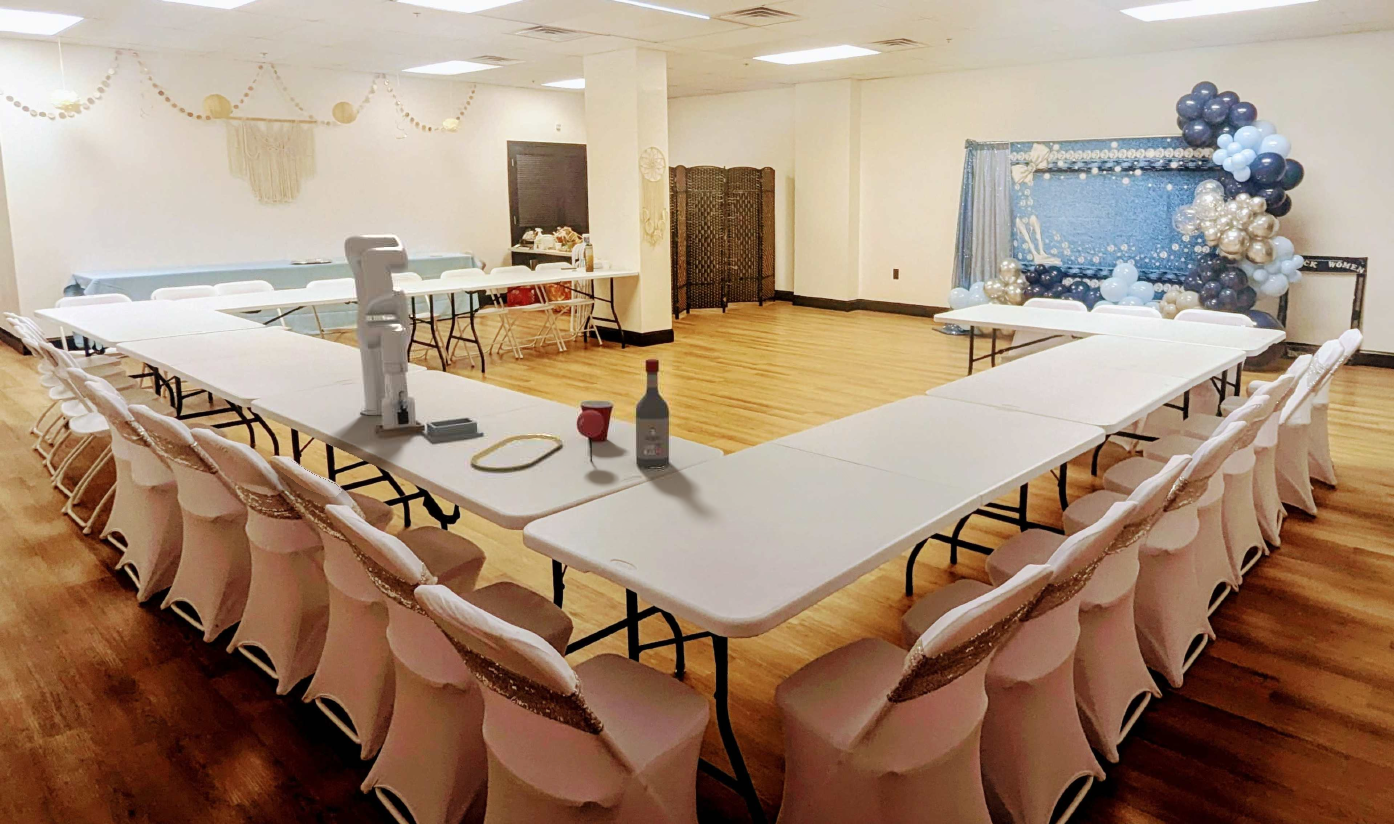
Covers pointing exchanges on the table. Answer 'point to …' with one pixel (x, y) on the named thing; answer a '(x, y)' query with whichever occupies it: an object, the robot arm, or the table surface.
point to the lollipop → (590, 425)
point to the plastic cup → (605, 412)
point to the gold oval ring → (508, 440)
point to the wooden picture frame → (399, 430)
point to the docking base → (451, 429)
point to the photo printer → (391, 414)
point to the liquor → (652, 423)
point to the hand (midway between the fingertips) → (399, 420)
